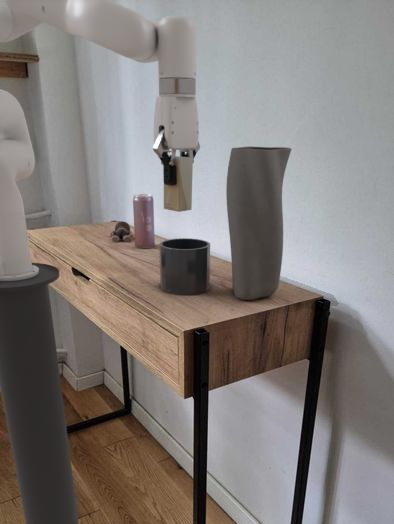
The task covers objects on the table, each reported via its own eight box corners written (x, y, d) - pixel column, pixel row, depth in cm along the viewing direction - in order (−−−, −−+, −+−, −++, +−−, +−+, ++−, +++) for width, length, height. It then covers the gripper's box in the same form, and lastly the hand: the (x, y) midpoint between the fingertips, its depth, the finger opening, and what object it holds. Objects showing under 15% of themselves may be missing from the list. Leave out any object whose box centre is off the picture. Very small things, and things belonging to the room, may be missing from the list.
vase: (249, 308, 99) (258, 149, 86) (212, 293, 108) (216, 147, 95) (291, 297, 105) (306, 148, 92) (253, 283, 114) (262, 145, 101)
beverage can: (151, 243, 151) (149, 193, 144) (157, 247, 146) (155, 196, 139) (132, 245, 149) (130, 194, 142) (138, 249, 144) (135, 197, 137)
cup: (188, 298, 104) (188, 252, 100) (150, 288, 110) (149, 244, 106) (219, 286, 112) (220, 243, 108) (182, 277, 118) (181, 236, 114)
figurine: (134, 246, 153) (136, 233, 161) (134, 231, 150) (135, 219, 158) (108, 246, 153) (110, 233, 161) (106, 231, 150) (109, 219, 158)
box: (163, 209, 109) (162, 156, 104) (176, 207, 112) (176, 155, 107) (179, 212, 106) (179, 157, 101) (193, 210, 109) (193, 157, 104)
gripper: (188, 92, 107) (188, 179, 115) (134, 88, 95) (138, 185, 102) (216, 91, 103) (214, 182, 110) (163, 86, 91) (165, 188, 98)
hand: (177, 182), depth 106 cm, fingers closed on box, 4 cm apart
